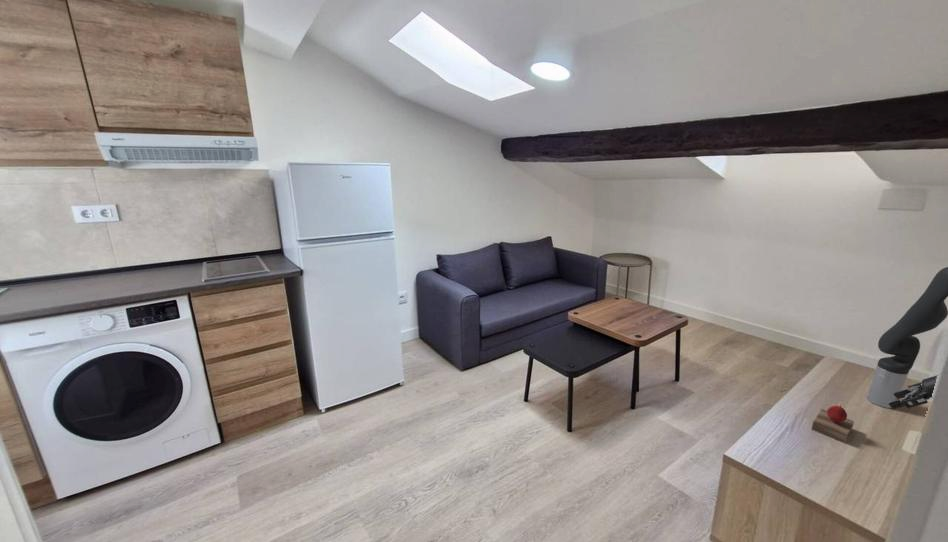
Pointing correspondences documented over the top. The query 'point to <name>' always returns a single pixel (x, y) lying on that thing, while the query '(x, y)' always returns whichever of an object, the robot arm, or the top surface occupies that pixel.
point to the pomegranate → (837, 413)
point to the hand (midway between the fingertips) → (893, 401)
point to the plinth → (832, 427)
